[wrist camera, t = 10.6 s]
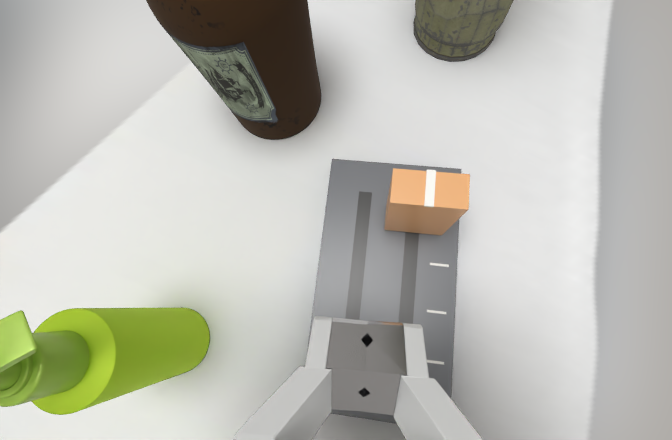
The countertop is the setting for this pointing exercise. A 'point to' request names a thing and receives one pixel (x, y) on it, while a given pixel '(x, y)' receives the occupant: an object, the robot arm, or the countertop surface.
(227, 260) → the countertop surface
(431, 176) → the fader lever
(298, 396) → the robot arm
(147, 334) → the soap dispenser
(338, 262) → the console
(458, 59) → the thermos
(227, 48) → the olive oil
